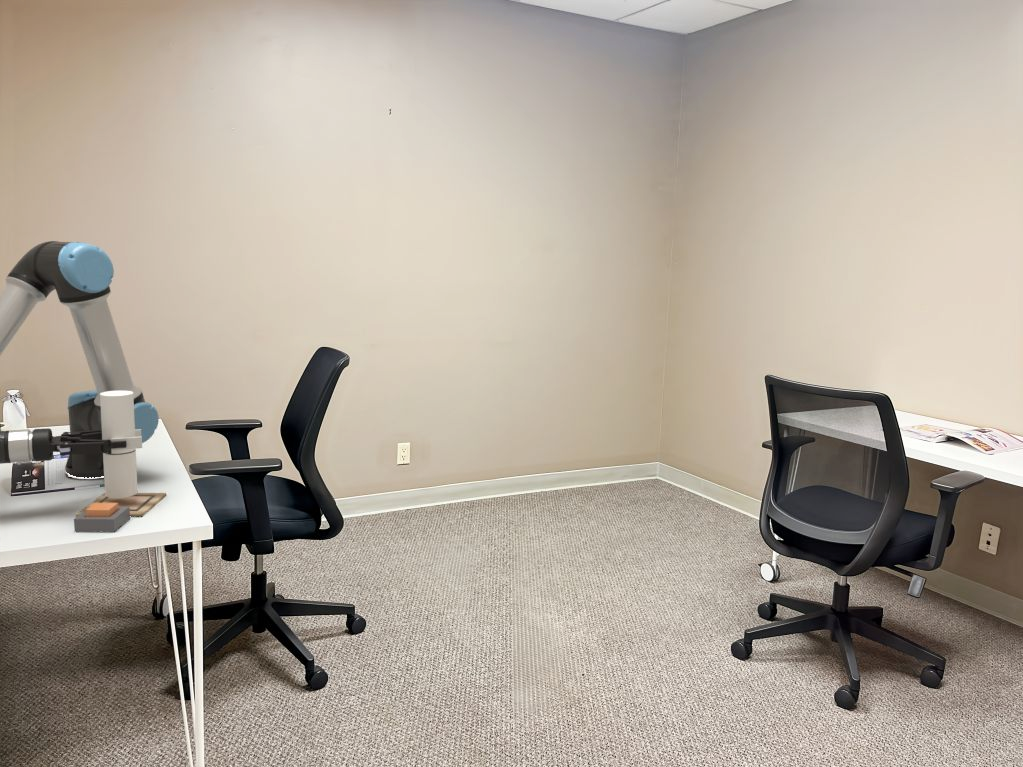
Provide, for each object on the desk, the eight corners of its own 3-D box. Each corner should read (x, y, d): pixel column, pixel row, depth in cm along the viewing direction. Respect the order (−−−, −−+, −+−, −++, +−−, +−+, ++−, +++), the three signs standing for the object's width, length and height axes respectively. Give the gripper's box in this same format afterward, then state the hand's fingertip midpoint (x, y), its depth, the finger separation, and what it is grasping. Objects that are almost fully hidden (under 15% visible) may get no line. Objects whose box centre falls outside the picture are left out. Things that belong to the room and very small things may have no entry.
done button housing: (92, 518, 184) (91, 506, 183) (130, 518, 184) (129, 506, 184) (74, 531, 175) (73, 519, 175) (114, 532, 176) (113, 519, 175)
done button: (96, 514, 182) (95, 502, 181) (118, 515, 182) (117, 502, 181) (86, 522, 177) (85, 510, 176) (109, 522, 177) (108, 510, 177)
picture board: (105, 494, 200) (105, 491, 200) (166, 495, 201) (166, 492, 201) (76, 516, 184) (75, 513, 184) (141, 517, 186) (141, 513, 185)
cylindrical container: (129, 487, 197) (124, 389, 193) (142, 493, 192) (138, 393, 188) (99, 493, 191) (94, 392, 187) (113, 500, 187) (108, 397, 183)
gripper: (37, 450, 191) (141, 443, 201) (28, 472, 174) (143, 464, 184) (35, 420, 190) (140, 415, 200) (26, 439, 172) (141, 432, 182)
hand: (141, 438), depth 192 cm, fingers closed on cylindrical container, 7 cm apart
